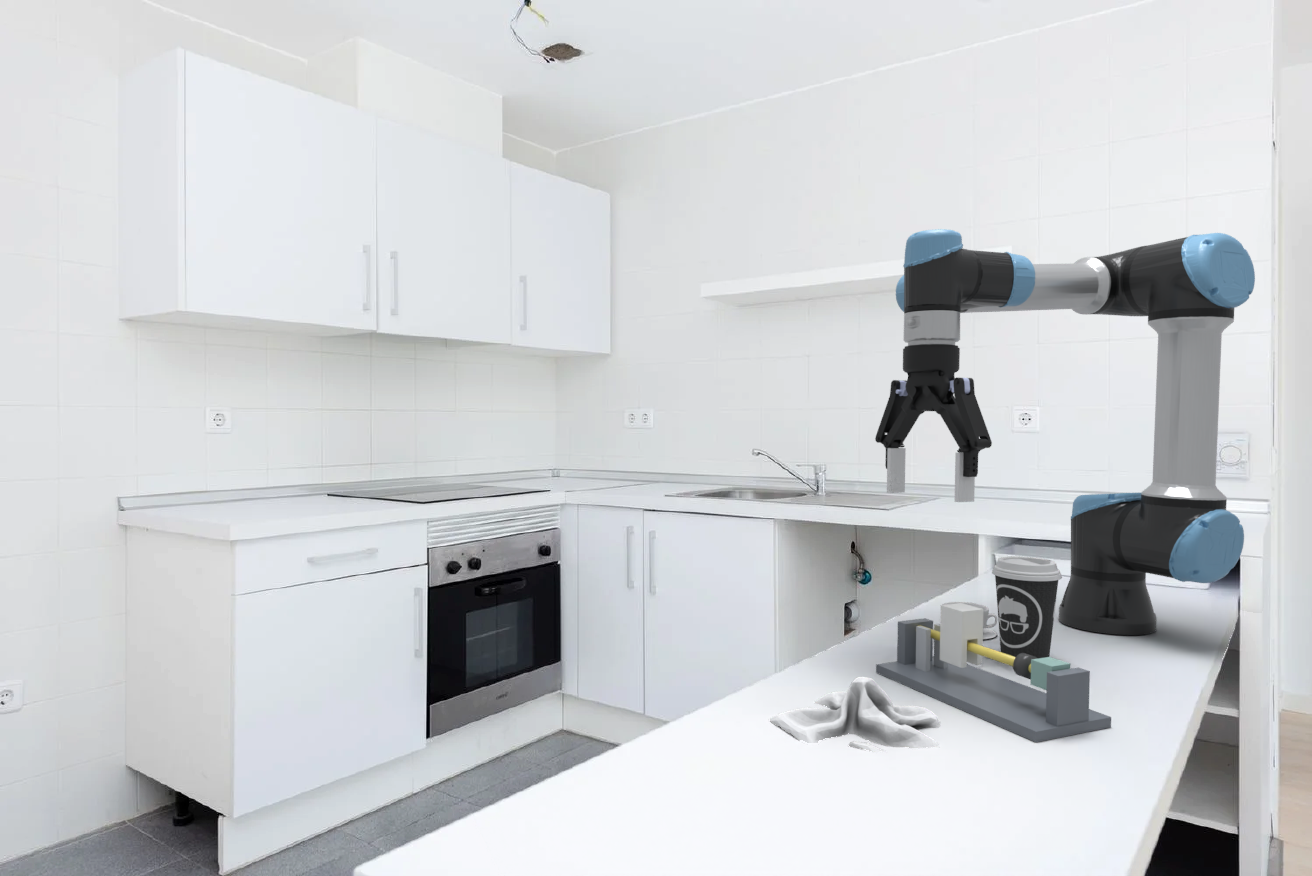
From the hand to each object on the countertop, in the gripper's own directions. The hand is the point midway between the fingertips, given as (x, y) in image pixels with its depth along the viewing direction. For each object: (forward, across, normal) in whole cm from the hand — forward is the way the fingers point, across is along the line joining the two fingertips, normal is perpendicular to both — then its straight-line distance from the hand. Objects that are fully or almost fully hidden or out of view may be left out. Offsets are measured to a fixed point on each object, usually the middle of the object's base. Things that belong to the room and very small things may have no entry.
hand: (928, 497), depth 121 cm
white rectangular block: (+22, +7, 0) cm, 23 cm away
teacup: (+25, -15, +22) cm, 37 cm away
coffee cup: (+25, +1, +18) cm, 31 cm away
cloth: (+26, +13, -20) cm, 35 cm away
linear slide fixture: (+25, +11, 0) cm, 27 cm away
